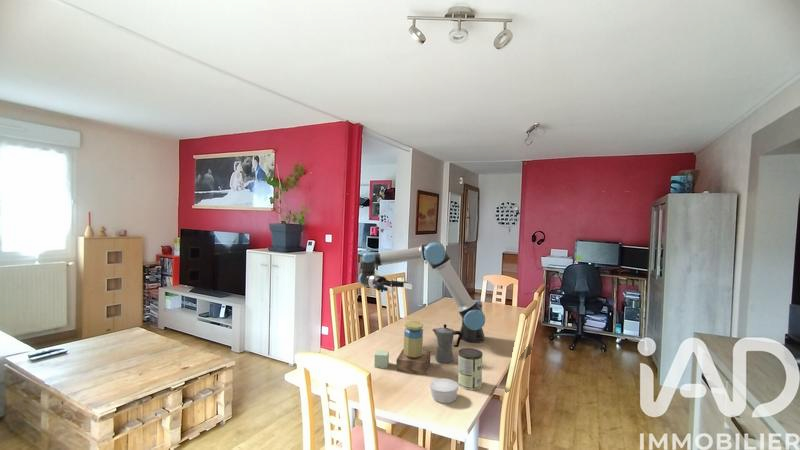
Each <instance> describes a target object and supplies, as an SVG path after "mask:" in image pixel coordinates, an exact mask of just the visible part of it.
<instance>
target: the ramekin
mask: <svg viewBox="0 0 800 450" xmlns="http://www.w3.org/2000/svg"><path fill="white" fill-rule="evenodd" d="M429 389H430V394H431V397H432V399H433V400H434V401H436V402H437V403H441V404H450V403H453V402H454V401H455V400H456V399H457V395H458V390H459V385H458V382H456V380H455V381H454V380H453V379H449V378H436V379H434V380H431V381H430V383H429Z"/></svg>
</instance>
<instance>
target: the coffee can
mask: <svg viewBox="0 0 800 450" xmlns="http://www.w3.org/2000/svg"><path fill="white" fill-rule="evenodd" d="M457 354H458V356H457V357H458V359H457V361H458V365H457V367H458V372H457V375H458V376H457V384H458V387H459V388H461V389H464V390H467V391H468V390H469V391H477V390H480V389H481V388H482V386H483V384H482V383H483V382H482V381H483V352H482V351H481V350H479V349H476V348H473V347H463V348H460V349H458V352H457Z"/></svg>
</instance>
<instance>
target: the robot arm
mask: <svg viewBox="0 0 800 450" xmlns="http://www.w3.org/2000/svg"><path fill="white" fill-rule="evenodd" d="M361 256H362V257H361V273H360V274H359V276H358V279H357V280H358V283H359V284H360V285H362V286H364V287H368V288H372V289H374V290H376V291H378V292H380V293H383V292H387V293H391V294H393V293H394V291H393V288H403V289H408V290H409V291H410V290H411V291H412V290H413V288H414V287H413V286H414V285H413V284H411V283H408V281H406V280H405V281H400V280H393V279H391V280H387V278H386V277H385V276H381V275H378V274H377V275H376V273H375V272H376V267H380V266H385V265H392V264H399V263H404V262H405V263H406V262H411V261H417V260H418V261H420V260H422V261H426V262H427V263H428V264H429V265H430V267H431V269H432V270H434V271H437V273H438V275H439V276H440V278H441V280H442V282H443V283H444V285H445V287H446V289H448V291H449V293H450V295H451V296H452V298H453V300H454V302H455V304H456V305H457V307H458V308H457V312H458V314H459V315H460V317H461V327H460V330H459V331H460V333H461V334H462V338H461V341H463V342H465V343H466V342H467V343H481V342H484V341H485V333H484V330H483V327H484V326H485V324H486V315H485V313H484V310H483V301H481V300H478V299H473V298H472V297H471V296H470V294H469V293H468V291H467V289H466V288H465V286H464V284H463V283H462V281H461V279H460V277H459V276H458V274H457V272H456V271H455V269H454V267H453V266H452V264H451V258H450V255H449V254H448V252H447V251H446V249H445V246H444V244H442V243H441V242H440V241H431V242H428V243H426V244H425V243H424V244H421V245H420V246H417V247H411V248H405V249H399V250H394V251H393V250H392V251H386V252H380V253H374V252H363V254H362V255H361Z"/></svg>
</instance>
